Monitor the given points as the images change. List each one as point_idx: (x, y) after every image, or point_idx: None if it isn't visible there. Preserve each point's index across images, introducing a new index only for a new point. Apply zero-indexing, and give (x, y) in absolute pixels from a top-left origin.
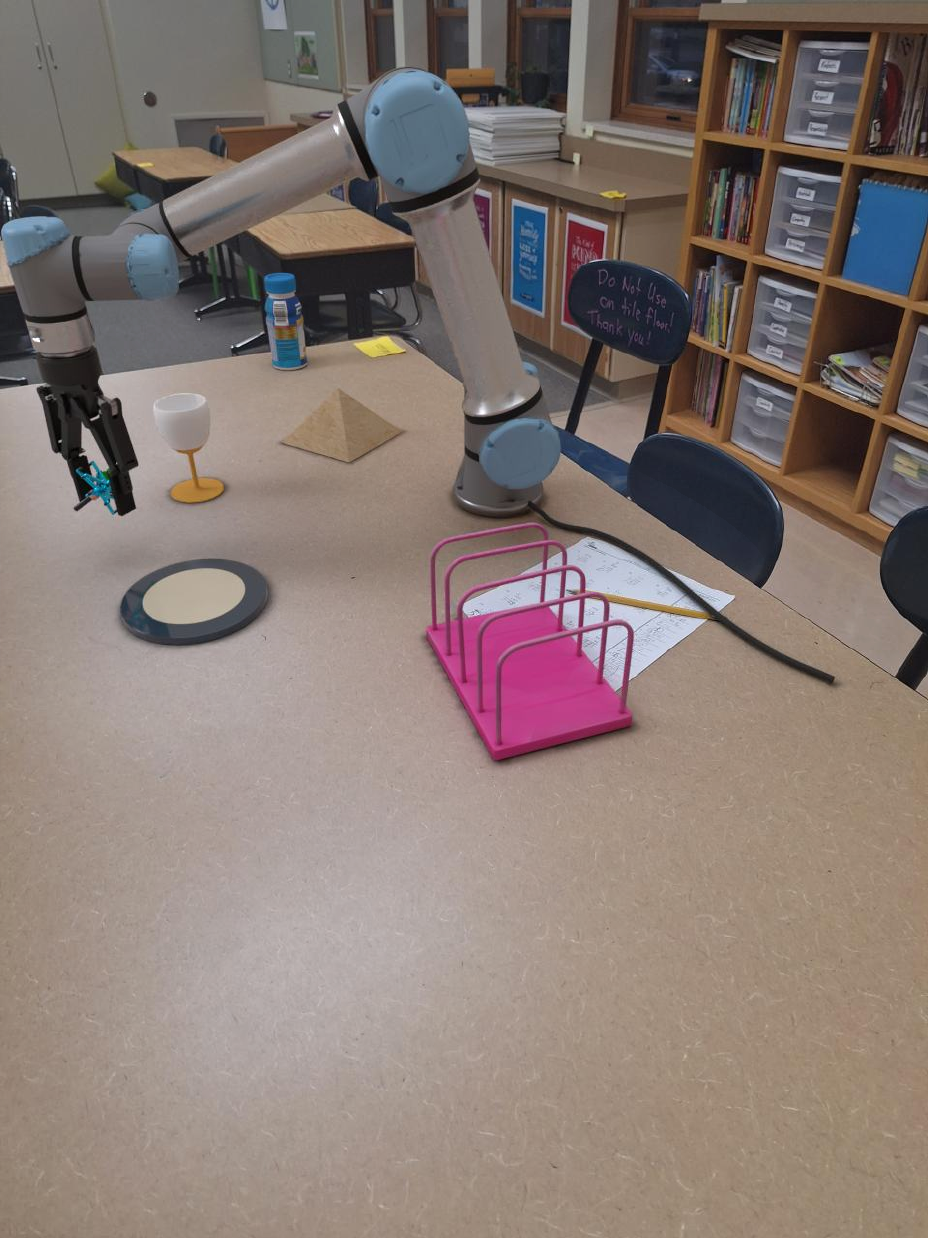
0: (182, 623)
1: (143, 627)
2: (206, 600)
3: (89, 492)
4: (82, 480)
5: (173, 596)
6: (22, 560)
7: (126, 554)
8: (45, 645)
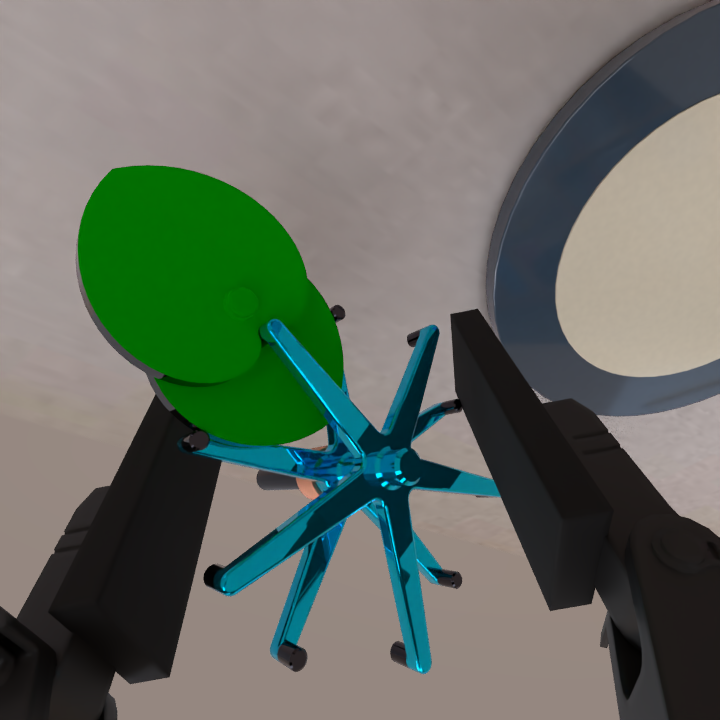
0: None
1: (651, 402)
2: None
3: (455, 587)
4: (190, 506)
5: (648, 298)
6: (115, 423)
7: (291, 227)
8: (481, 502)
